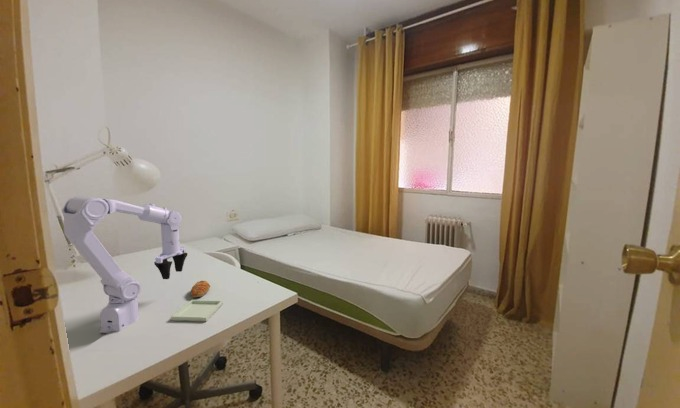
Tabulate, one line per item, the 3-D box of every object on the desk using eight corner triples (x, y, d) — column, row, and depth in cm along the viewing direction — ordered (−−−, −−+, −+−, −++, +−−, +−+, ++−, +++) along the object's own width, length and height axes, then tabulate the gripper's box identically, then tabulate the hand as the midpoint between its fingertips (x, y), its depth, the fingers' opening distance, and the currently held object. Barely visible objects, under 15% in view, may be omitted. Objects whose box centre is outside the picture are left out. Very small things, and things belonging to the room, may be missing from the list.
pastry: (206, 298, 104) (205, 289, 104) (187, 299, 102) (186, 290, 102) (211, 287, 113) (210, 279, 113) (193, 288, 111) (193, 280, 111)
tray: (206, 321, 88) (206, 317, 88) (171, 320, 88) (171, 316, 88) (223, 304, 100) (222, 300, 100) (192, 303, 100) (191, 299, 100)
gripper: (168, 246, 93) (170, 282, 95) (192, 236, 108) (193, 268, 109) (148, 245, 94) (151, 282, 95) (175, 236, 108) (177, 268, 110)
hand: (172, 274), depth 102 cm, fingers open, 7 cm apart
